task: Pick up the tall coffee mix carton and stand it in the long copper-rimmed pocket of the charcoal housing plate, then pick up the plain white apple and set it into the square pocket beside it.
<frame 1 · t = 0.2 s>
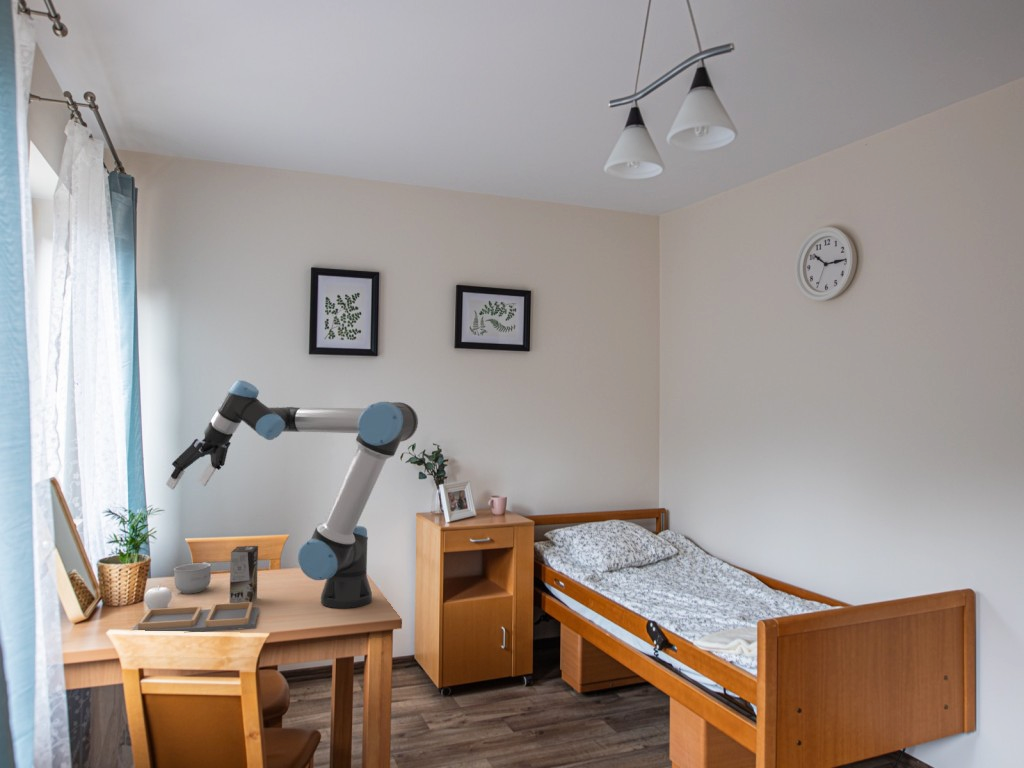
hand: (186, 485, 220), 35 cm above the table, tool tilted 35°, fingers open, 13 cm apart
coffee box: (243, 602, 219), on the table
plain white apple: (158, 610, 210), on the table
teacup: (195, 590, 232), on the table
housing plate: (198, 622, 199), on the table
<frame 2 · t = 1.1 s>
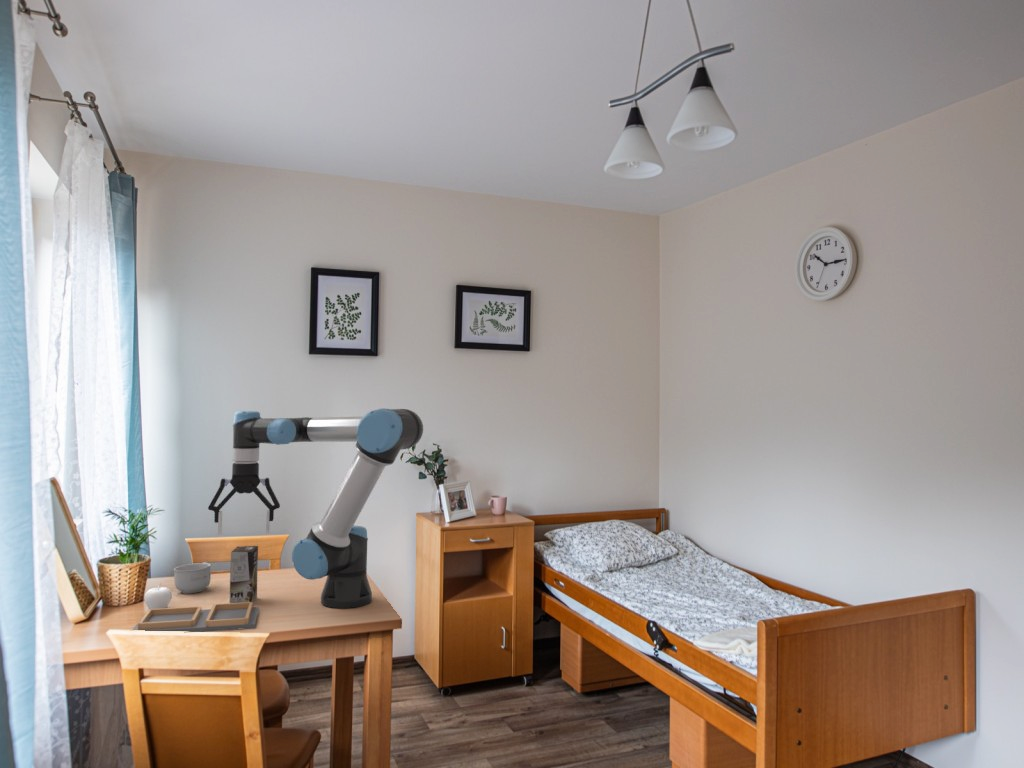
hand: (244, 532, 219), 21 cm above the table, tool pointing down, fingers open, 13 cm apart
nothing on the table moved.
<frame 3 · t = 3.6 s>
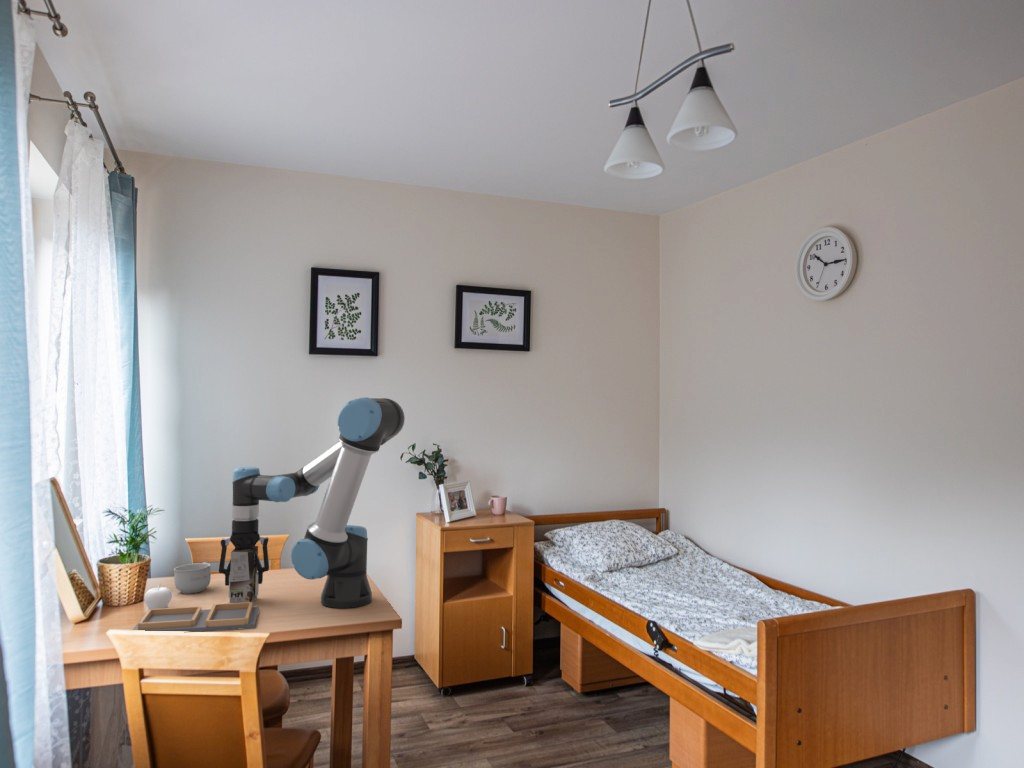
hand: (243, 595, 219), 2 cm above the table, tool pointing down, fingers closed on coffee box, 7 cm apart
coffee box: (243, 602, 219), on the table, touching gripper
everything else where it was.
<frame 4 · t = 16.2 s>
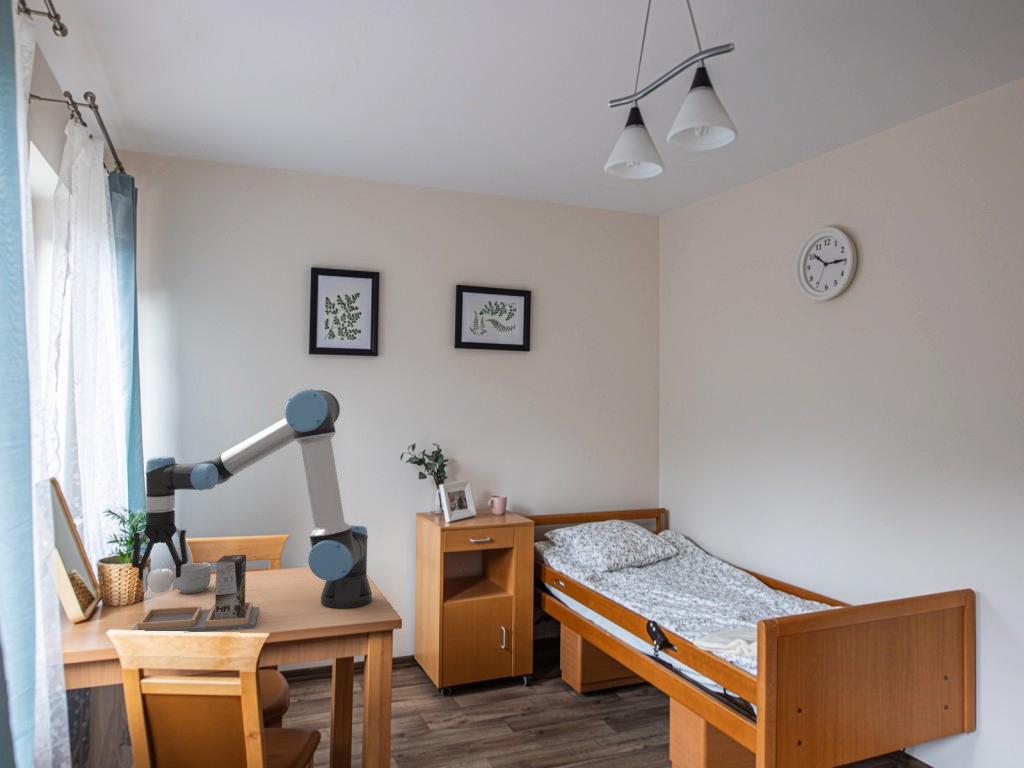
hand: (160, 589, 210), 6 cm above the table, tool pointing down, fingers closed on plain white apple, 7 cm apart
coffee box: (230, 617, 201), point 1 cm above the table, touching housing plate
plain white apple: (160, 591, 210), point 5 cm above the table, touching gripper
everything else where it was.
when the fingers open (3 cm above the table, at t = 20.2 s): plain white apple drops 1 cm, resting on housing plate.
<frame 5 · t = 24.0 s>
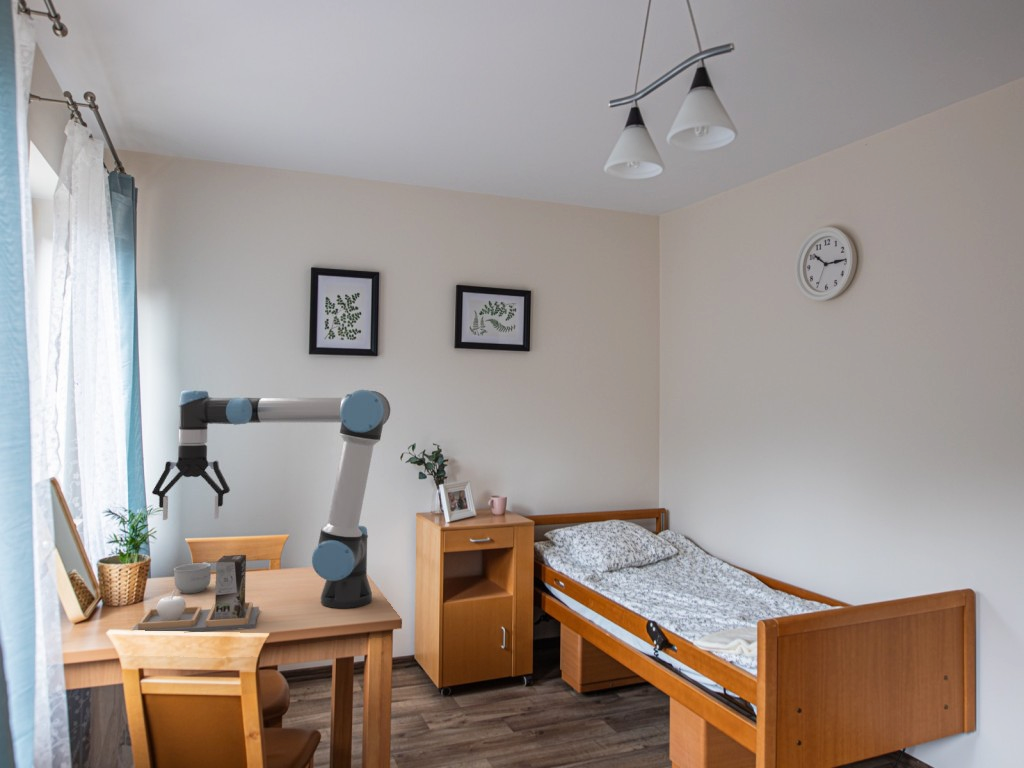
hand: (191, 518, 208), 27 cm above the table, tool pointing down, fingers open, 13 cm apart
plain white apple: (171, 620, 197), point 1 cm above the table, touching housing plate
everything else where it was.
at the end: coffee box inside the target area on the housing plate (0.1 cm from its centre), point 0.8 cm above the housing plate's base; plain white apple inside the target area on the housing plate (0.0 cm from its centre), point 0.8 cm above the housing plate's base; coffee box tilted 0° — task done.
